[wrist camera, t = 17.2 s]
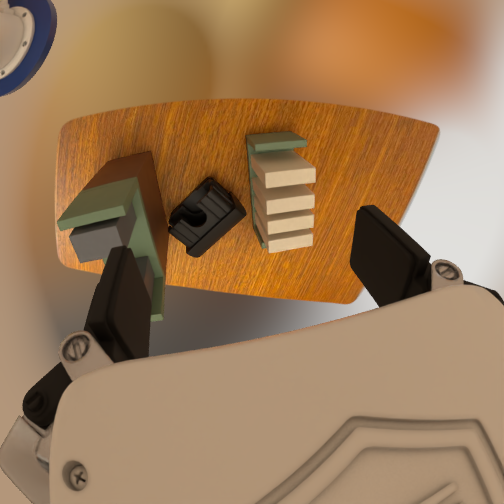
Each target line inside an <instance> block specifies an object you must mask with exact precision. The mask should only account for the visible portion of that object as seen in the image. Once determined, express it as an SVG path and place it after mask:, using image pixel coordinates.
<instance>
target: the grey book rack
mask: <svg viewBox="0 0 504 504" xmlns="http://www.w3.org/2000/svg"><path fill="white" fill-rule="evenodd" d="M57 224H58V227H59V229H60V231H63V230H66V229H70V228H74V227H75V228H74V229H73V231H72V233H71V234H70V236H69V238H70V241H71V243H72V245H73V248H74V250H75V252H76V254H77V257H78V259H79V261H80V263H83V262H88V261H93V260H98V259H103V262H104V264H106V261H107V259H108V256H109V253H110V250H111V248H113V247H117V246H122V245H126V247H127V248H131V249H132V251H133V254H134V257H135V260H136V262H137V265H138V268H139V270H140V273H141V276H142V278H143V281H144V284H145V286H146V289H147V291H148V294H149V296H150V299H151V304H152V308H151V321H150V322H152V321H159V320H164V295H165V279H166V278H165V277H166V263H167V250H168V239H169V232H168V225H167V221H166V217H165V213H164V209H163V204H162V200H161V196H160V191H159V187H158V182H157V177H156V173H155V168H154V163H153V158H152V153H151V151H148V152H143V153H139V154H135V155H130V156H126V157H122V158H118V159H115V160H111V161H108V162H107V163H106V164H105V165H104V166H103V167H102V168H101V169H100V170H99V171H98V173H97V174H96V175H95V176H94V177H93V178H92V179H91V180H90V182H89V183H88V184H87V185H86V186H85V187H84V188H83V190H82V191H81V192H80V193H79V194H78V196H77V197H76V198H75V199H74V200H73V202H72V203H71V204H70V205H69V207H68V208H67V209H66V210H65V212H64V213H63V214H62V216H61V217H60V218H59V220H58V221H57Z"/></svg>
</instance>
